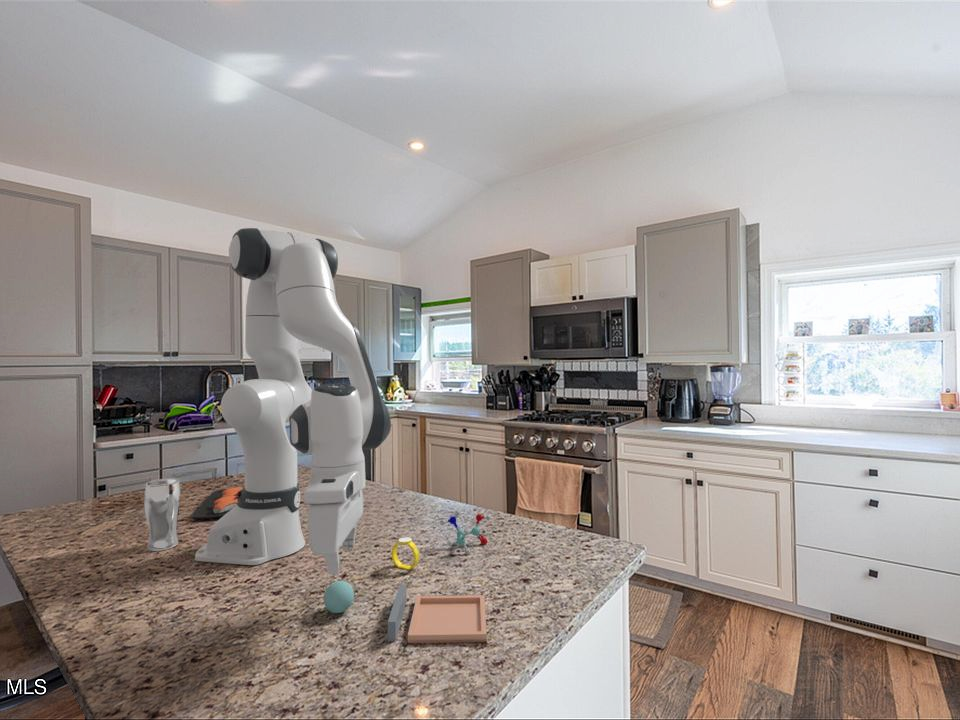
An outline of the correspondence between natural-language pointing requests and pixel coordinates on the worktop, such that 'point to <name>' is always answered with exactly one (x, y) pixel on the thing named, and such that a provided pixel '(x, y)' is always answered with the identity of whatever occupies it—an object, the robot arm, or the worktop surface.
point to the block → (396, 613)
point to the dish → (448, 619)
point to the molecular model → (466, 531)
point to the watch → (416, 553)
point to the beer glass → (162, 513)
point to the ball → (338, 597)
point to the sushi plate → (218, 504)
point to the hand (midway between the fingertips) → (342, 560)
